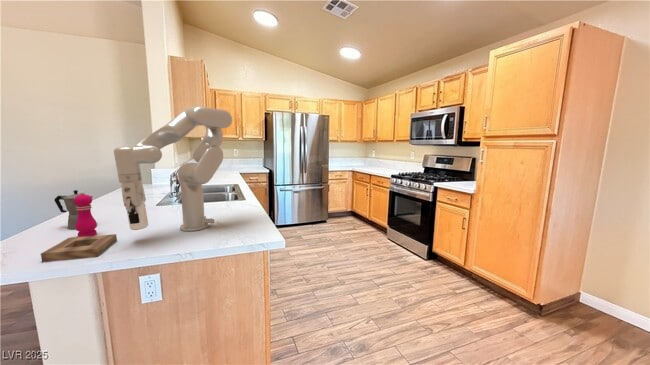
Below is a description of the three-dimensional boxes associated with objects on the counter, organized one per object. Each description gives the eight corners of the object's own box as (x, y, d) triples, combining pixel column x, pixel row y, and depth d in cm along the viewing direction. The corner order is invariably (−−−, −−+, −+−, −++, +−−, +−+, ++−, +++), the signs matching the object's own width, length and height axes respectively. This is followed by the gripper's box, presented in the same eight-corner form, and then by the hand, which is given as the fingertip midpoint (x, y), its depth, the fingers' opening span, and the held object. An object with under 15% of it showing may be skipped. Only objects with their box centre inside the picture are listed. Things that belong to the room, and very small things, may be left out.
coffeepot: (101, 223, 136) (97, 188, 133) (89, 228, 127) (85, 191, 124) (65, 224, 133) (60, 189, 130) (51, 230, 124) (45, 192, 121)
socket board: (117, 241, 112) (116, 234, 112) (97, 256, 97) (96, 248, 97) (69, 244, 107) (68, 237, 107) (41, 261, 92) (40, 253, 92)
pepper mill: (85, 239, 114) (79, 193, 111) (71, 237, 115) (65, 192, 112) (102, 233, 121) (97, 190, 118) (89, 232, 122) (84, 189, 119)
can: (152, 225, 114) (147, 198, 111) (137, 231, 108) (132, 202, 105) (141, 224, 116) (136, 197, 113) (126, 229, 110) (120, 201, 107)
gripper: (133, 180, 100) (141, 226, 104) (147, 173, 116) (154, 213, 120) (109, 182, 98) (118, 229, 101) (127, 175, 114) (134, 215, 117)
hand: (137, 220), depth 110 cm, fingers closed on can, 5 cm apart
